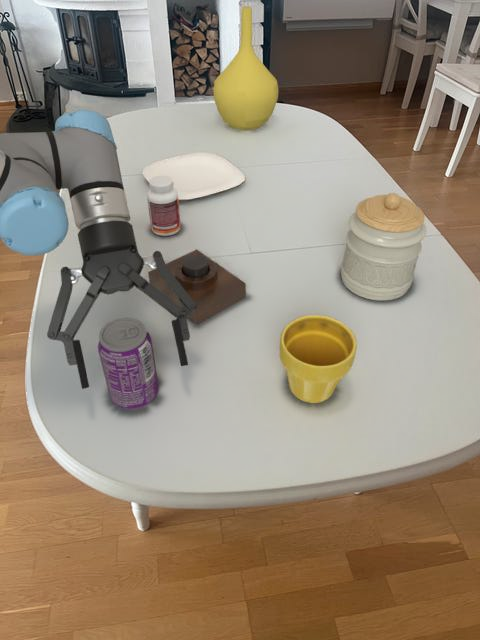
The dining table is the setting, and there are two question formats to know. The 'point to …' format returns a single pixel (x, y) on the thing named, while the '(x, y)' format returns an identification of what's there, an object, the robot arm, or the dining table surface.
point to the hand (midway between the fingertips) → (136, 376)
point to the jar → (383, 247)
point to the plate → (197, 174)
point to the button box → (202, 288)
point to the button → (195, 266)
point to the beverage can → (128, 363)
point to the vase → (245, 85)
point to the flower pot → (316, 355)
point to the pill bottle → (163, 206)
